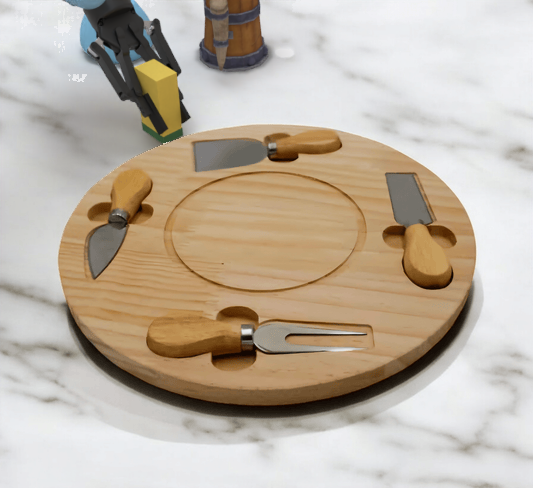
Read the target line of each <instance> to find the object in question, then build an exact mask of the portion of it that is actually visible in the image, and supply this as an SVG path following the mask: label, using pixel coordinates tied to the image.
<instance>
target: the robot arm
mask: <svg viewBox="0 0 533 488" xmlns="http://www.w3.org/2000/svg"><path fill="white" fill-rule="evenodd" d="M62 2H65V3H67V4H69V5H70V6H71V7H78V8H79V9H82V11H83V14H85V15H86V17H87V19H88V20H89V22H90V24H91V26H92V27H93V28H94V29H95V31H96V38H97V39H96V40H95V42H92V43H91V44H90V46H89V47H88V49H87V53H88V54H89V55H88V54H87V53H86V54H87V55H88V56H89V57H91V58H92V59H93V60H94V61H96V63H97V64H98V66H99V68H100V69H101V70H102V73H103V74H104V76H105V77H106V79H107V80H108V82H109V84H110V85H111V87H112V89H113V90H114V92H115V94H116V96H117V97H118V98H119V100H120V101H122V102H126V101H129V102H131V103H134V104H135V105H136V107H137V109H138V111H139V113H140V115H141V114H142V116H143V117H145V118H146V117H149V119H150V121H151V122H152V124H153V126H154V128H155V129H156V131H157V133H158V135H161V134H162V133H164V132H165V131H166V130H168V127H167V125H166V123H165V122H164V120H163V118H162V116H161V115H160V113H159V111H158V110H157V108H156V106H155V104H154V102H153V101H152V99H151V97H150V95H149V94H148V93H147V94H144V95H143V91H142V89H141V86H140V83H139V80H138V77H137V74H136V72H135V70H134V67H135V66H134V63H133V61H132V60H131V57H130V50H134V51H135V52H136V53H137V54H138V55H140V56H141V59H142V60H143V61H144V63H145V62H148V61H150V60H152V59H155V60H157V61H158V62H160V63H162V64H163V65H165V66H167V67H168V68H170V69H172V70H173V71H175V72H177V78H178V77H179V76H180V75H181V74H182V68H181V67H180V65H179V62H178V61H177V59H176V57H175V55H174V53H173V51H172V49H171V47H170V45H169V43H168V41H167V39H166V37H165V35H164V34H163V31H162V25H161V21H160V19H159V18H157V17H156V18H153V19H152V20H150V21H145V20H143V19H142V18H141V17H140V16H139V15H138V14H137V13H136V11H135V9H134V6H133V4H132V2H131V0H62ZM144 29H145V30H146V32H147V35H150V39H151V41H152V43H153V45H152V46H153V48H154V49H155V50H154V49H153V48H152V46H151V47H150V44H149V42H148V40H147V39H146V38H145V36H144V35H143V33H144ZM104 46H106V47H108V48H109V49H111V50H113V52H114V55H115V58H116V60H117V62H118V65H119V68H120V71H119V69H118V68H117V66H116V64H114V63H113V61H112V60H111V58H110V56H109V55H108V53H107V52H106V51H105V47H104ZM155 51H156V52H155ZM178 91H179V102H180V113H181V123H182V125H183V124H185V123H186V122H187V121H189V120H190V119H191V118H192V116H191V115H190V113H189V111H188V109H187V108H186V106H185V104H184V102H183V100H184V94H183V92H182V91H181V89H180V87H179V86H178Z"/></svg>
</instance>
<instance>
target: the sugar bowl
mask: <svg viewBox="0 0 533 488" xmlns="http://www.w3.org/2000/svg"><path fill="white" fill-rule="evenodd" d="M131 2H132V4H133V6H134V9H135V11H136V13H137V14H138V15H139V16H140V17H141V18H142V19H143V20H145V21H151V20H150V18H149V16H148V15H147V13H146V12H145V11H144V9H143V8H142V7H141V5H139V3H137V1H136V0H131ZM143 35H144V36H145V38H146V39H147V40H148V42H149V44H150V47H151V48H152V46H154V45H153V43H152V41H151V39H150V35H147V32H146V30H145V29H144V33H143ZM96 39H97V38H96V31H95V29H94V28H93V27H92V26H91V24H90V22H89V20H88V19H87V17H86V15H85V13H83V16H82V19H81V22H80V27H79V43H80V47H81V49H82V50H83V51H84V52H85V53H86V54H87V55H88V56H90V55H89V54H88V53H87V49H88V47H89V46H90V44H91V43H92V42H95V40H96ZM104 47H105V51H106V52H107V53H108V55H109V56H110V58H111V60H112V61H113V63H114V64H115V65H116V64H117V65H119V63H118V62H117V60H116V58H115V55H114V52H113V50H111V49H109V48H108V47H106V46H104ZM130 57H131V60H132V62H133V61H137V60H139V59H142V57H141V56H140V55H138V54H137V53H136V52H135V51H134V50H130Z"/></svg>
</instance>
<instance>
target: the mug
mask: <svg viewBox="0 0 533 488" xmlns="http://www.w3.org/2000/svg"><path fill="white" fill-rule="evenodd" d="M260 1H261V0H203V13H204V31H203V32H204V33H203V38H202V39H201V41H200V42H199V44H198V47H199V49H198V51H199V52H198V53H199V54H198V55H199V60H200V62H202V63H203V64H204V65H205V66H207V67H208V68H209V69H212V70H218V71H219V72H226V73H231V72H246V71H249V70H251V69H254V68H257V67H260V66H262V65H263V64H264V62H265V61H266V60H268V58H269V48H268V46H267V44H266V43H265V36H263V34H262V25H261V2H260Z"/></svg>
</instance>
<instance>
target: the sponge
mask: <svg viewBox="0 0 533 488" xmlns="http://www.w3.org/2000/svg"><path fill="white" fill-rule="evenodd" d="M134 70H135V72H136V74H137V77H138V80H139V83H140V86H141V89H142V91H143V95H144V94H147V93H148V94H149V95H150V97H151V99H152V101H153V102H154V104H155V106H156V108H157V110H158V111H159V113H160V115H161V116H162V118H163V120H164V122H165V123H166V125H167V127H168V130H166V131H165V132H164V133H162V134H161V135H158V133H157V131H156V129H155V128H154V126H153V124H152V122H151V121H150V119H149V117H146V118H145V117H143V116H142V114H141V113H140V119H141V128H142V131H143V132H144V133H146V134H148V135H149V136H150V137H152V138H153V139H155V140H156V141H157V142H159V143H161V145H163V143H166V142H169V141H171V142H173V141H175V140H177V139H179V138H181V137H183V136H184V129H183V124H182V123H181V113H180V102H179V91H178V87H179V81H178V77H177V72H175V71H173V70H172V69H170V68H168V67H167V66H165V65H163V64H162V63H160V62H158V61H157V60H155V59H152V60H150V61H148V62H145V61H144V62H143V63H141V64H138V65H135V66H134ZM174 139H175V140H174ZM172 140H173V141H172ZM169 143H170V142H169Z"/></svg>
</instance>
